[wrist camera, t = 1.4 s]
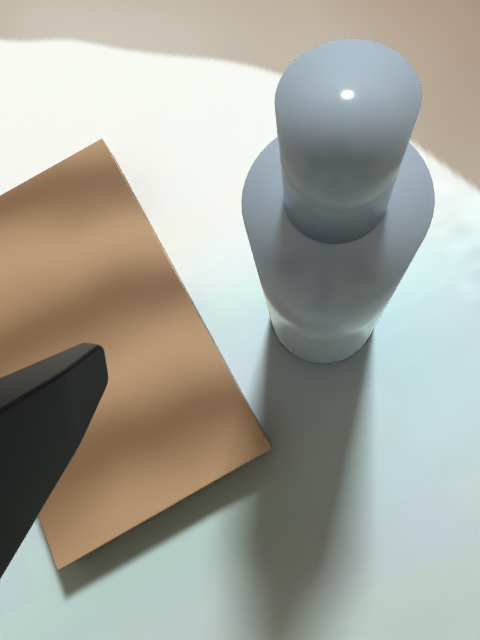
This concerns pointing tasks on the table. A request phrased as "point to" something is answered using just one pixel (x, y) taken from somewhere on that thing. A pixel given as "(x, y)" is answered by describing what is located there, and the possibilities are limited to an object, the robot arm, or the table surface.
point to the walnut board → (116, 352)
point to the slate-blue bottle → (338, 196)
